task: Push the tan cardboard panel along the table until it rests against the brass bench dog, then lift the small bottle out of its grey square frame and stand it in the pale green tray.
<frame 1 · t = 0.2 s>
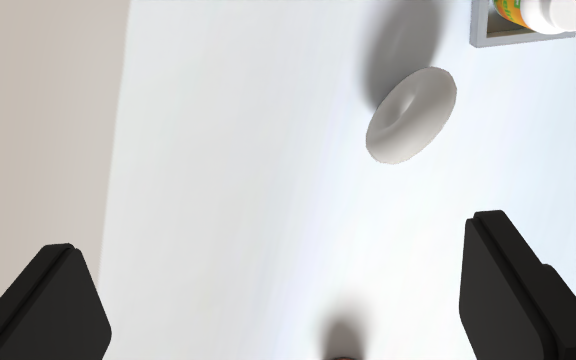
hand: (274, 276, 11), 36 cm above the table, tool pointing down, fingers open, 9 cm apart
donut: (398, 98, 47), on the table
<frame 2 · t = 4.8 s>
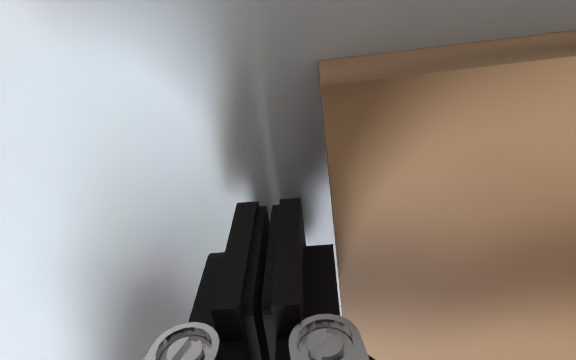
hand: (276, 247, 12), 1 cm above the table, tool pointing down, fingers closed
tan cardboard panel: (509, 194, 13), on the table, touching gripper
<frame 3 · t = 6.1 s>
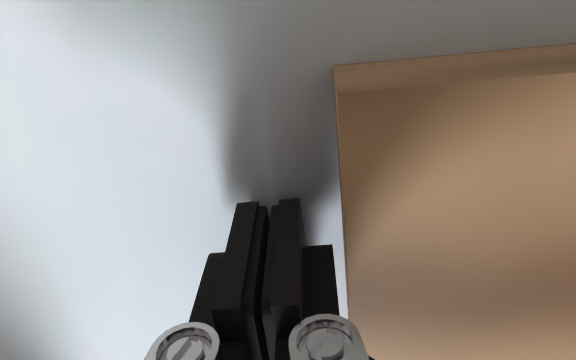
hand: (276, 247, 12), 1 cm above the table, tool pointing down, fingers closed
tan cardboard panel: (527, 211, 12), on the table, touching bench dog, gripper
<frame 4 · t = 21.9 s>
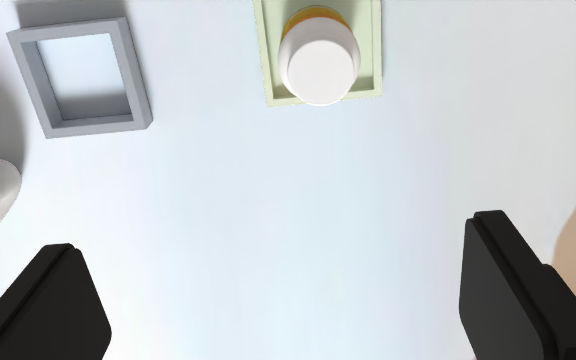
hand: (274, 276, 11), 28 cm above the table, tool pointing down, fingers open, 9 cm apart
grey square frame: (89, 76, 38), on the table
donut: (7, 182, 43), on the table
supplement bottle: (315, 40, 36), resting on tray
tray: (318, 39, 36), on the table
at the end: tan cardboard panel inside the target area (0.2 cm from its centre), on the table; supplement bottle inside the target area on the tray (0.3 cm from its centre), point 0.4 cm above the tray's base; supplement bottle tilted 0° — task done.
